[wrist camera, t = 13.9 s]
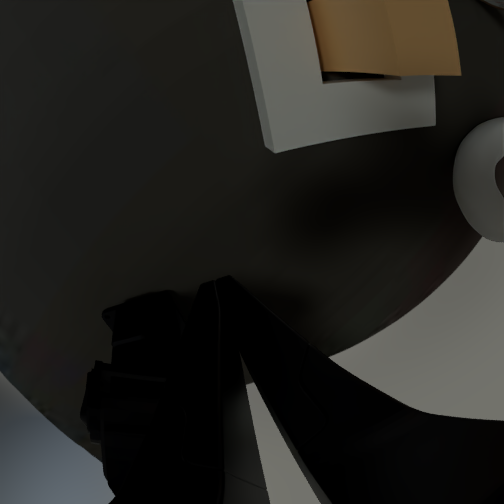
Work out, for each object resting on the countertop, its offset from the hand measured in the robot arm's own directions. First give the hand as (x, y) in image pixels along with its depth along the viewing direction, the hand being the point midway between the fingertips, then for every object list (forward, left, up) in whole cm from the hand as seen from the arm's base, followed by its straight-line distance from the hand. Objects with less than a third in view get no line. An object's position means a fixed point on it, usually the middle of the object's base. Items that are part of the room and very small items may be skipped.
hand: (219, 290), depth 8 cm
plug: (+9, -12, -12) cm, 19 cm away
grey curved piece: (-3, -28, -12) cm, 31 cm away
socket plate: (+7, -12, -12) cm, 18 cm away
